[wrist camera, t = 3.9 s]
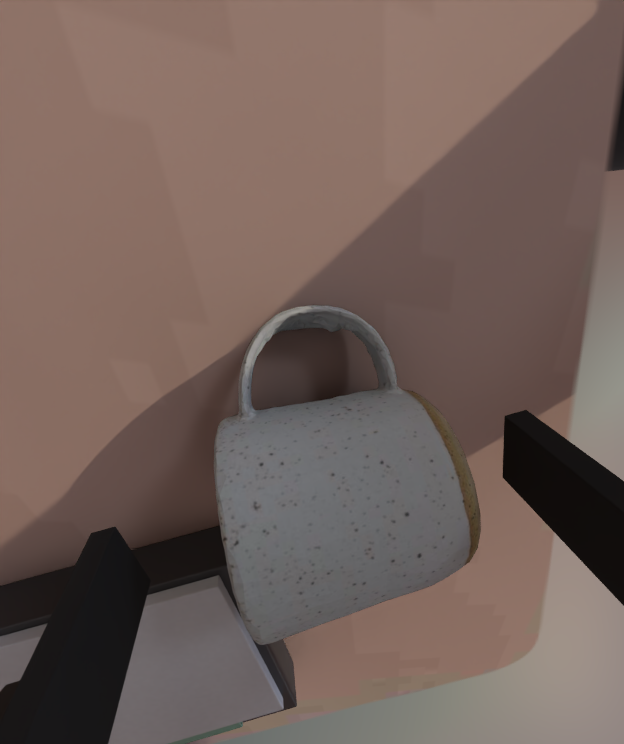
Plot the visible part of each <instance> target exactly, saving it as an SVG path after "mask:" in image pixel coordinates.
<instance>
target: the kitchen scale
mask: <svg viewBox="0 0 624 744" xmlns="http://www.w3.org/2000/svg"><path fill="white" fill-rule="evenodd" d="M131 551H132V553H133V554H134V556H135V557H136V559H137V560H138V562H139V563H140V565H141V566H142V568H143V569H144V571H145V572H146V574H147V575H148V577H149V578H150V580H151V582H150V586H149V590H148V594H147V597H146V601H145V605H144V609H143V613H142V617H141V620H140V624H139V628H138V632H137V636H136V640H135V643H134V647H133V651H132V655H131V659H130V663H129V666H128V670H127V674H126V678H125V682H124V685H123V689H122V693H121V697H120V701H119V705H118V708H117V712H116V716H115V720H114V724H113V728H112V731H111V735H110V739H109V743H108V744H186V743H190V742H193V741H196V740H200V739H203V738H206V737H210V736H213V735H216V734H220V733H223V732H226V731H230V730H233V729H237V728H240V727H242V726H243V722H246V721H249V720H253V719H256V718H259V717H263V716H266V715H270V714H273V713H276V712H280V711H283V710H286V709H290V708H293V707H296V706H297V702H296V690H295V678H294V666H293V661H292V659H291V657H290V654H289V652H288V650H287V648H286V645H285V643H284V641H283V639H281V640H278V641H276V642H273V643H269V644H264V645H260V644H258V643H257V642H255V641H254V640H253V639H252V637H251V635H250V634H249V632H248V631H247V629H246V627H245V625H244V623H243V620H242V618H241V615H240V612H239V609H238V606H237V602H236V599H235V596H234V594H233V590H232V585H231V581H230V577H229V573H228V568H227V562H226V556H225V550H224V546H223V542H222V536H221V529H220V526H218V527H215V528H211V529H207V530H204V531H200V532H196V533H193V534H189V535H185V536H182V537H178V538H175V539H171V540H167V541H164V542H160V543H156V544H153V545H149V546H145V547H142V548H138V549H135V550H131ZM74 568H75V566H73V567H69V568H65V569H62V570H58V571H54V572H51V573H47V574H44V575H40V576H36V577H33V578H29V579H25V580H22V581H18V582H14V583H11V584H7V585H4V586H0V692H1V690H2V689H3V688H4V686H5V685H7V684H10V683H13V682H17V681H20V679H21V677H22V675H23V673H24V671H25V669H26V667H27V665H28V663H29V661H30V659H31V657H32V655H33V653H34V650H35V648H36V646H37V644H38V642H39V640H40V638H41V636H42V634H43V632H44V630H45V628H46V626H47V624H48V621H49V619H50V617H51V615H52V613H53V611H54V609H55V607H56V605H57V603H58V601H59V599H60V597H61V595H62V592H63V590H64V588H65V586H66V584H67V582H68V580H69V578H70V576H71V574H72V572H73V570H74Z"/></svg>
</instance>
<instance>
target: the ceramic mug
mask: <svg viewBox="0 0 624 744" xmlns="http://www.w3.org/2000/svg"><path fill="white" fill-rule="evenodd" d="M302 328H325V329H327V330H329V331H330V332H333V331H338V330H340V329H342V328H343V329H345V330H350V331H352V332H353V333H354V334H355V335H356V336H357V337H358V338H359V339H360V340H361V341H362V342H363V343H364V344H365V346H366V348H367V351H368V353H369V354H370V355H371V358H372V361H373V363H374V366H375V369H376V372H377V376H378V381H379V386H378V388H377V389H375V390H368V391H363V392H357V393H352V394H349V395H344V396H338V397H334V398H332V399H325V400H321V401H314V402H307V403H301V404H294V405H287V406H282V407H273V408H269V409H265V410H257V411H256V410H254V409H253V406H252V404H251V383H252V374H253V368H254V364H255V361H256V358H257V355H258V354H259V353H260V351H261V350H262V349H263V347H264V345H265V343H266V342H267V341H269V340H270V338H271V337H272V335H274V334H276V333H278V332H280V331H285V330H294V329H302ZM238 402H239V413H238V415H234V416H231V417H227V418H225V419H223V420H222V421H221V422H220V424H219V426H218V430H217V433H216V437H215V443H214V476H215V487H216V500H217V505H218V517H219V523H220V529H221V536H222V542H223V546H224V550H225V556H226V562H227V568H228V573H229V577H230V581H231V585H232V590H233V594H234V596H235V599H236V602H237V606H238V609H239V612H240V615H241V618H242V620H243V623H244V625H245V627H246V629H247V631H248V632H249V634H250V635H251V637H252V639H253V640H254V641H255V642H257V643H258V644H260V645H264V644H269V643H273V642H276V641H278V640H281V639H284V638H286V637H289V636H292V635H294V634H297V633H299V632H302V631H305V630H307V629H310V628H313V627H315V626H318V625H321V624H323V623H326V622H329V621H332V620H335V619H338V618H341V617H344V616H347V615H349V614H352V613H355V612H357V611H360V610H363V609H365V608H368V607H371V606H373V605H376V604H378V603H381V602H384V601H386V600H390V599H393V598H396V597H399V596H402V595H405V594H409V593H412V592H415V591H418V590H421V589H424V588H426V587H429V586H432V585H434V584H435V583H437V582H439V581H441V580H443V579H445V578H446V577H448V576H450V575H451V574H453V573H454V572H456V571H457V570H459V569H460V568H462V567H463V566H464V565H466V564H467V563H469V562H470V560H471V559H472V557H473V555H474V554H475V552H476V550H477V548H478V543H479V537H480V532H481V527H480V509H479V504H478V499H477V494H476V489H475V484H474V480H473V477H472V474H471V471H470V468H469V466H468V463H467V460H466V457H465V454H464V452H463V450H462V448H461V446H460V444H459V442H458V440H457V438H456V436H455V434H454V432H453V431H452V429H451V427H450V426H449V424H448V422H447V421H446V420H445V418H444V417H443V416H442V415H441V413H440V412H439V411H438V410H437V409H436V408H435V407H434V406H433V405H432V404H431V403H430V402H428V401H427V400H426V399H424V398H423V397H422V396H420V395H418V394H416V393H415V392H413V391H408V390H402V389H400V388H399V387H398V386H397V376H396V372H395V367H394V363H393V361H392V359H391V356H390V353H389V350H388V348H387V346H386V345H385V343H384V342H383V340H382V338H381V337H380V335H379V334H378V332H377V331H376V330H375V329H374V328H373V327H372V326H371V325H370V324H368V323H367V322H366V321H364V320H363V319H361V318H360V317H359V316H358V315H355V314H353V313H351V312H349V311H347V310H345V309H342V308H339V307H332V306H318V305H312V306H303V307H296V308H293V309H289V310H286V311H283V312H281V313H279V314H277V315H275V316H274V317H273V318H272V319H270V320H269V321H268V322H267V323H266V324H264V325H263V326H262V327H261V328H260V330H259V331H258V333H257V334H256V335H255V337H254V338H253V340H252V341H251V343H250V345H249V347H248V349H247V351H246V354H245V356H244V359H243V363H242V366H241V371H240V377H239V397H238Z"/></svg>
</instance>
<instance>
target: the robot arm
mask: <svg viewBox="0 0 624 744" xmlns="http://www.w3.org/2000/svg"><path fill="white" fill-rule="evenodd" d="M503 478H504V479H505V480H506V481H507V482H508V483H509V484H510V486H511V487H512V488H513V489H514V490H515V491H516V492H517V493H518V494H519V495H520V496H521V497H522V498H523V499H524V500H525V501H526V503H527V504H528V505H529V506H530V507H531V508H532V509H533V510H534V511H535V512H536V513H537V514H538V515H539V516H540V517H541V518H542V519H543V521H544V522H545V523H546V524H547V525H548V526H549V527H550V528H551V529H552V530H553V531H554V532H555V533H556V534H557V535H558V536H559V537H560V539H561V540H562V541H563V542H565V544H566V545H567V546H568V547H569V548H570V549H571V550H572V551H573V552H574V553H575V554H576V556H577V557H578V558H579V559H580V560H581V561H582V562H583V563H584V564H585V565H586V566H587V567H588V568H589V569H590V570H591V571H592V573H593V574H594V575H595V576H596V577H597V578H598V579H599V580H600V581H601V582H602V583H603V584H604V585H605V586H606V587H607V588H608V589H609V591H610V592H611V593H612V594H613V595H614V596H615V597H616V598H617V599H618V600H619V601H620V602H621V603H622V604H623V605H624V481H623V480H621V479H620V478H619V477H617V476H616V475H615V474H613V473H612V472H610V471H609V470H608V469H606V468H605V467H604V466H602V465H601V464H599V463H598V462H597V461H595V460H594V459H593V458H591V457H590V456H588V455H587V454H586V453H584V452H583V451H582V450H580V449H579V448H577V447H576V446H575V445H573V444H572V443H571V442H569V441H568V440H567V439H565V438H564V437H562V436H561V435H560V434H558V433H557V432H556V431H554V430H553V429H551V428H550V427H549V426H547V425H546V424H545V423H543V422H542V421H540V420H539V419H538V418H536V417H535V416H534V415H532V414H531V413H529V412H528V411H527V410H524V411H521V412H517V413H514V414H510V415H507V416H505V422H504V453H503ZM150 582H151V580H150V578H149V577H148V575H147V574H146V572H145V571H144V569H143V568H142V566H141V565H140V563H139V562H138V560H137V559H136V557H135V556H134V554H133V553H132V551H131V550H130V548H129V547H128V545H127V544H126V542H125V541H124V539H123V538H122V536H121V534H120V533H119V531H118V530H117V528H116V527H112V528H108V529H105V530H101V531H98V532H94V533H91V534H90V537H89V539H88V541H87V543H86V545H85V547H84V549H83V551H82V553H81V555H80V557H79V559H78V561H77V563H76V566H75V568H74V570H73V572H72V574H71V576H70V578H69V580H68V582H67V584H66V586H65V588H64V590H63V592H62V595H61V597H60V599H59V601H58V603H57V605H56V607H55V609H54V611H53V613H52V615H51V617H50V619H49V621H48V624H47V626H46V628H45V630H44V632H43V634H42V636H41V638H40V640H39V642H38V644H37V646H36V648H35V650H34V653H33V655H32V657H31V659H30V661H29V663H28V665H27V667H26V669H25V671H24V673H23V675H22V677H21V679H20V681H17V682H13V683H10V684H7V685H5V686H4V688H3V689H2V690H1V692H0V744H108V743H109V739H110V735H111V731H112V728H113V724H114V720H115V716H116V712H117V708H118V705H119V701H120V697H121V693H122V689H123V685H124V682H125V678H126V674H127V670H128V666H129V663H130V659H131V655H132V651H133V647H134V643H135V640H136V636H137V632H138V628H139V624H140V620H141V617H142V613H143V609H144V605H145V601H146V597H147V594H148V590H149V586H150Z"/></svg>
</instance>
